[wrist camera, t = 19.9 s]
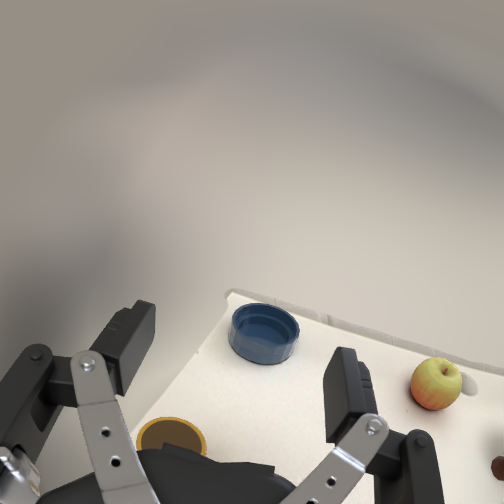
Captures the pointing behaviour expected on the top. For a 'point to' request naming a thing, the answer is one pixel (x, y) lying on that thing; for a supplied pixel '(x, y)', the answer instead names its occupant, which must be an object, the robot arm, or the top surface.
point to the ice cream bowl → (498, 467)
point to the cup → (171, 435)
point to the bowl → (263, 333)
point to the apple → (436, 383)
